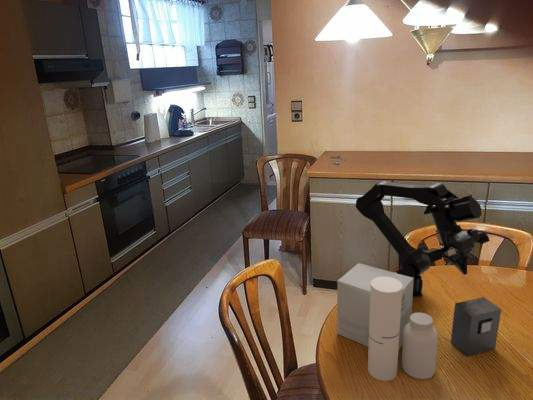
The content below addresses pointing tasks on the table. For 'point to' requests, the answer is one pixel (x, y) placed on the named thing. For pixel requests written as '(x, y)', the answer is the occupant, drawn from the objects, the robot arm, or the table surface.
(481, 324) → the pin
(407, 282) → the supplement box
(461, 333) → the block
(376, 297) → the cylindrical container
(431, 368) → the pill bottle
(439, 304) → the table surface
